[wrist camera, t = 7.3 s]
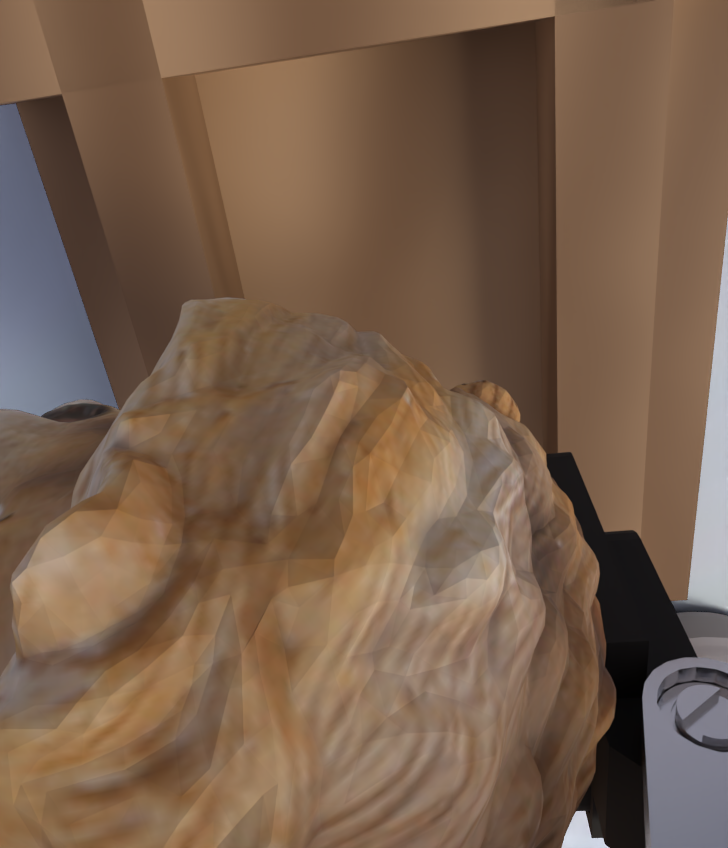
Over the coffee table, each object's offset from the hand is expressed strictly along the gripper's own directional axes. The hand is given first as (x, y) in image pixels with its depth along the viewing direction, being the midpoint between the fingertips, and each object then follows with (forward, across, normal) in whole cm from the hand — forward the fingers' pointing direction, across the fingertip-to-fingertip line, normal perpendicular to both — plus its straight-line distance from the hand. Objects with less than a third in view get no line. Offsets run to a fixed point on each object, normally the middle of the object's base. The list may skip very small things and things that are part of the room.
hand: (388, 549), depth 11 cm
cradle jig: (+7, 0, -1) cm, 7 cm away
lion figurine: (+1, 0, +1) cm, 2 cm away
